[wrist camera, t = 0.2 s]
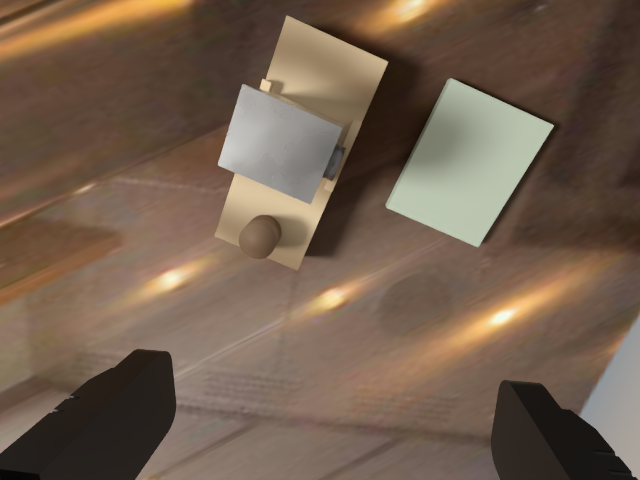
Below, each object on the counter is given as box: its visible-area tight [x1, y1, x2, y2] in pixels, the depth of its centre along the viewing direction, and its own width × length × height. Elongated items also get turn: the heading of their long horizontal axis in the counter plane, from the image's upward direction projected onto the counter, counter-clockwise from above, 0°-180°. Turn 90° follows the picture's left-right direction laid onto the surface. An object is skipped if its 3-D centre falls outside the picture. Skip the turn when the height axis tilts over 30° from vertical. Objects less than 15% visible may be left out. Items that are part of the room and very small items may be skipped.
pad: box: [386, 78, 554, 247], centre depth 27 cm, size 10×8×1 cm
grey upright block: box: [218, 84, 346, 205], centre depth 21 cm, size 4×6×8 cm
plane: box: [215, 16, 388, 271], centre depth 25 cm, size 16×7×5 cm, turn 157°
